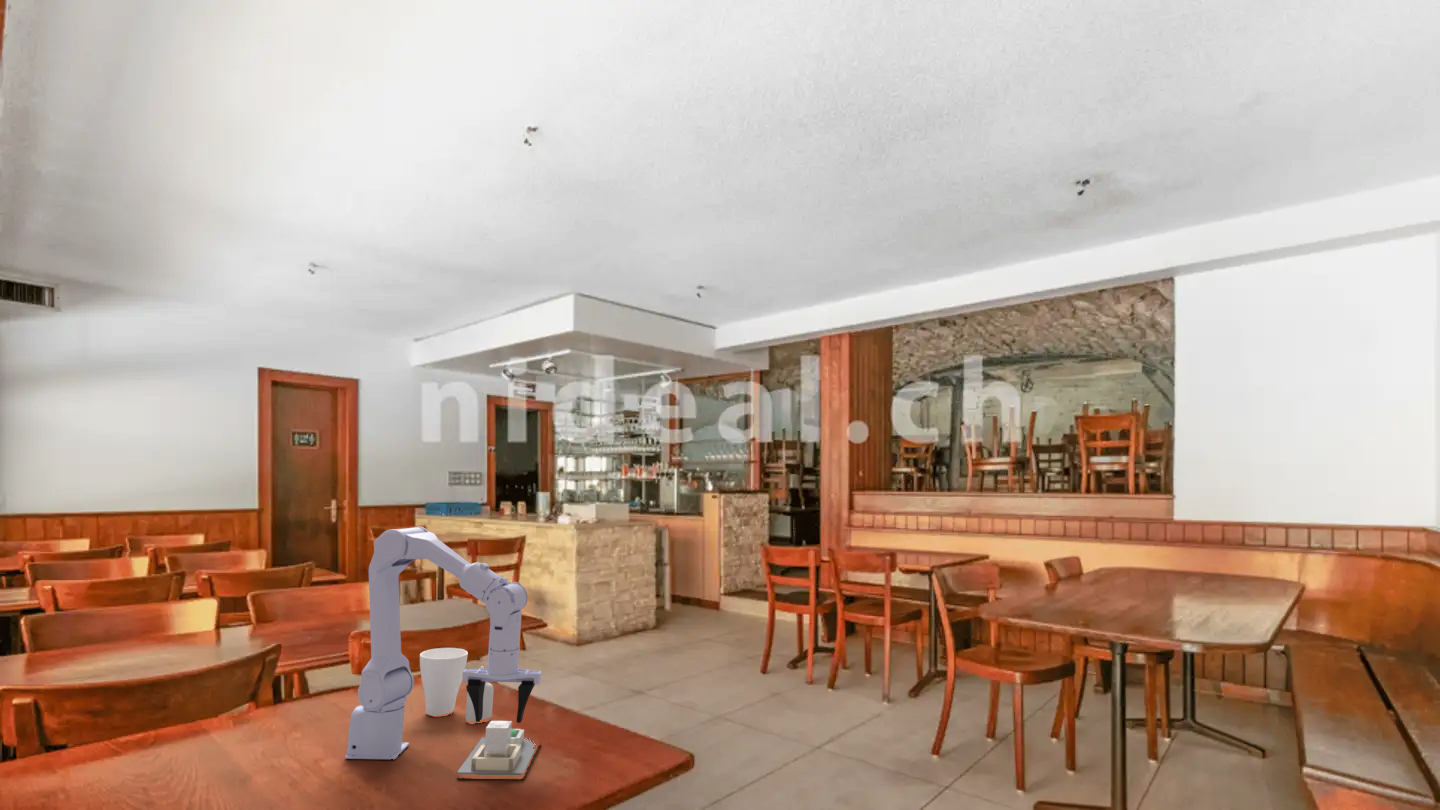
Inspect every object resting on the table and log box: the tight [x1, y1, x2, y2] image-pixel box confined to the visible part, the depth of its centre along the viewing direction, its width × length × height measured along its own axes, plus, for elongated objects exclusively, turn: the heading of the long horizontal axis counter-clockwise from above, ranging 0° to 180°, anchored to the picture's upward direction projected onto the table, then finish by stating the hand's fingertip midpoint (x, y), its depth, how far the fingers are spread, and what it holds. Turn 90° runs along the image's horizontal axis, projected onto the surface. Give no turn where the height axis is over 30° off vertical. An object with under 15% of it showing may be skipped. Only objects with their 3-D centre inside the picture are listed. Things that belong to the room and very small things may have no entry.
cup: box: [419, 647, 469, 715], centre depth 172 cm, size 10×10×14 cm
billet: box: [484, 720, 513, 758], centre depth 142 cm, size 4×4×7 cm
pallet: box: [456, 728, 537, 775], centre depth 146 cm, size 12×18×3 cm, turn 3°
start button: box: [511, 728, 516, 737], centre depth 151 cm, size 3×3×2 cm
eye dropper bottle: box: [464, 665, 494, 721], centre depth 168 cm, size 4×6×12 cm
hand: (499, 720), depth 143 cm, fingers open, 7 cm apart
